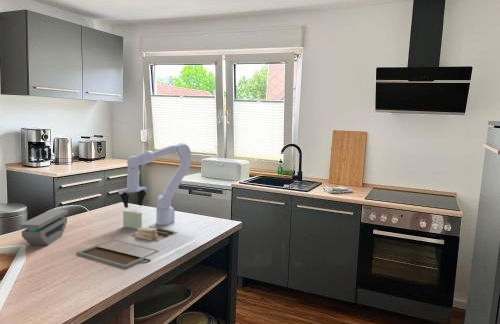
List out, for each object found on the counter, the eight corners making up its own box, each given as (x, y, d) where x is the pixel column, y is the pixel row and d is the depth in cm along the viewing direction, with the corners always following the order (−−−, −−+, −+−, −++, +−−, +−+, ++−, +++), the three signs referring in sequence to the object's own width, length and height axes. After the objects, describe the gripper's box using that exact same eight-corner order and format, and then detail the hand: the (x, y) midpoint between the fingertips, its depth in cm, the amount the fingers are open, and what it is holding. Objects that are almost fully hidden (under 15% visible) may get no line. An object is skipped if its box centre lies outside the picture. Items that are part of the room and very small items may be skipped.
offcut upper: (142, 230, 178) (142, 226, 177) (156, 233, 175) (156, 228, 175) (137, 233, 174) (137, 229, 174) (151, 235, 171) (151, 231, 171)
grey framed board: (113, 239, 171) (165, 252, 157) (113, 242, 171) (165, 255, 157) (76, 252, 154) (131, 267, 140) (76, 255, 154) (131, 272, 140)
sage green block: (126, 227, 192) (126, 209, 191) (141, 230, 188) (141, 212, 187) (123, 228, 191) (123, 210, 189) (138, 231, 186) (138, 213, 185)
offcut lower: (142, 234, 179) (142, 230, 179) (157, 237, 175) (157, 233, 175) (135, 236, 175) (135, 232, 175) (150, 240, 171) (150, 235, 171)
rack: (151, 229, 190) (151, 224, 190) (178, 234, 183) (178, 230, 183) (128, 238, 176) (128, 233, 176) (156, 244, 169) (156, 239, 169)
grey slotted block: (52, 231, 182) (51, 209, 180) (68, 232, 182) (68, 209, 180) (20, 250, 157) (19, 224, 156) (39, 250, 157) (38, 225, 156)
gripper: (123, 182, 183) (123, 210, 185) (150, 179, 194) (149, 205, 195) (116, 180, 188) (116, 207, 190) (142, 177, 198) (142, 203, 200)
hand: (133, 206), depth 193 cm, fingers open, 7 cm apart
